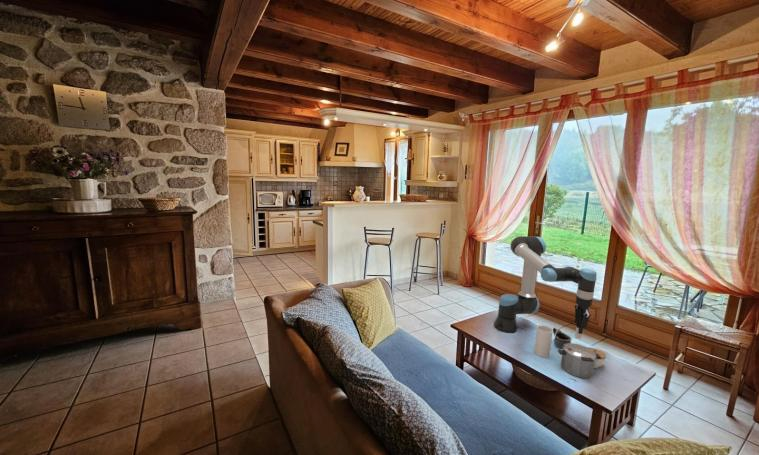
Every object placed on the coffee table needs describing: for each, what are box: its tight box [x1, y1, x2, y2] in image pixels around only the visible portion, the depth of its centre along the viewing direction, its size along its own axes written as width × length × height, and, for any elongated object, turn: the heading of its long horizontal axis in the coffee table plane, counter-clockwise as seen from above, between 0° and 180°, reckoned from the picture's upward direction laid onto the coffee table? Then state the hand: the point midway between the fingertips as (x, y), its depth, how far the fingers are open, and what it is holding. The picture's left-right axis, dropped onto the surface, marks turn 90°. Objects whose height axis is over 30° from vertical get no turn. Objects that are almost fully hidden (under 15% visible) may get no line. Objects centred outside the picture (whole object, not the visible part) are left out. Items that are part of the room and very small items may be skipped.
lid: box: [562, 342, 596, 362], centre depth 174 cm, size 17×15×2 cm
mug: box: [552, 326, 573, 349], centre depth 202 cm, size 10×12×10 cm
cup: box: [533, 324, 554, 358], centre depth 191 cm, size 8×8×16 cm
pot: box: [557, 348, 601, 379], centre depth 177 cm, size 16×21×10 cm
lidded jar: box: [586, 346, 607, 369], centre depth 182 cm, size 11×11×9 cm
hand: (578, 337), depth 178 cm, fingers closed
